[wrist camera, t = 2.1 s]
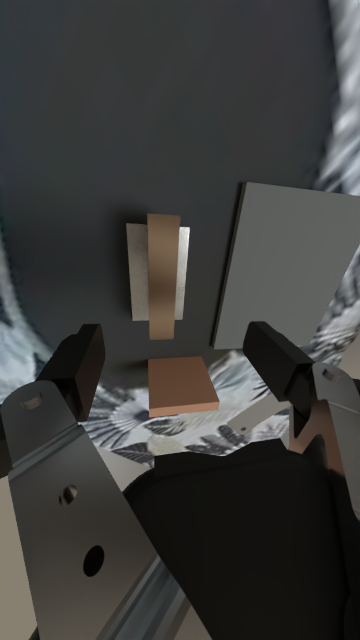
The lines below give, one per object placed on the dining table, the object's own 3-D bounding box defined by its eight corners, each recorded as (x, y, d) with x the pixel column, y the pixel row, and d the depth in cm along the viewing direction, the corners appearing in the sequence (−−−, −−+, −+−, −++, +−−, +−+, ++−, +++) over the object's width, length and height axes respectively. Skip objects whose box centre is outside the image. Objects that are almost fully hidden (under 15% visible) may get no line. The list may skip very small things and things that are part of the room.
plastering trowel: (125, 212, 20) (118, 211, 14) (189, 217, 21) (206, 217, 15) (133, 318, 26) (129, 348, 20) (181, 317, 27) (191, 345, 21)
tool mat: (211, 345, 31) (213, 349, 30) (242, 183, 20) (247, 181, 19) (304, 341, 34) (308, 344, 33) (373, 199, 23) (382, 199, 22)
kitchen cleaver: (322, 363, 37) (332, 389, 42) (318, 360, 38) (328, 385, 43) (220, 419, 42) (239, 437, 46) (219, 415, 42) (238, 433, 47)
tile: (148, 367, 31) (149, 418, 23) (148, 359, 30) (149, 409, 22) (200, 364, 32) (217, 410, 25) (201, 356, 32) (219, 401, 24)
